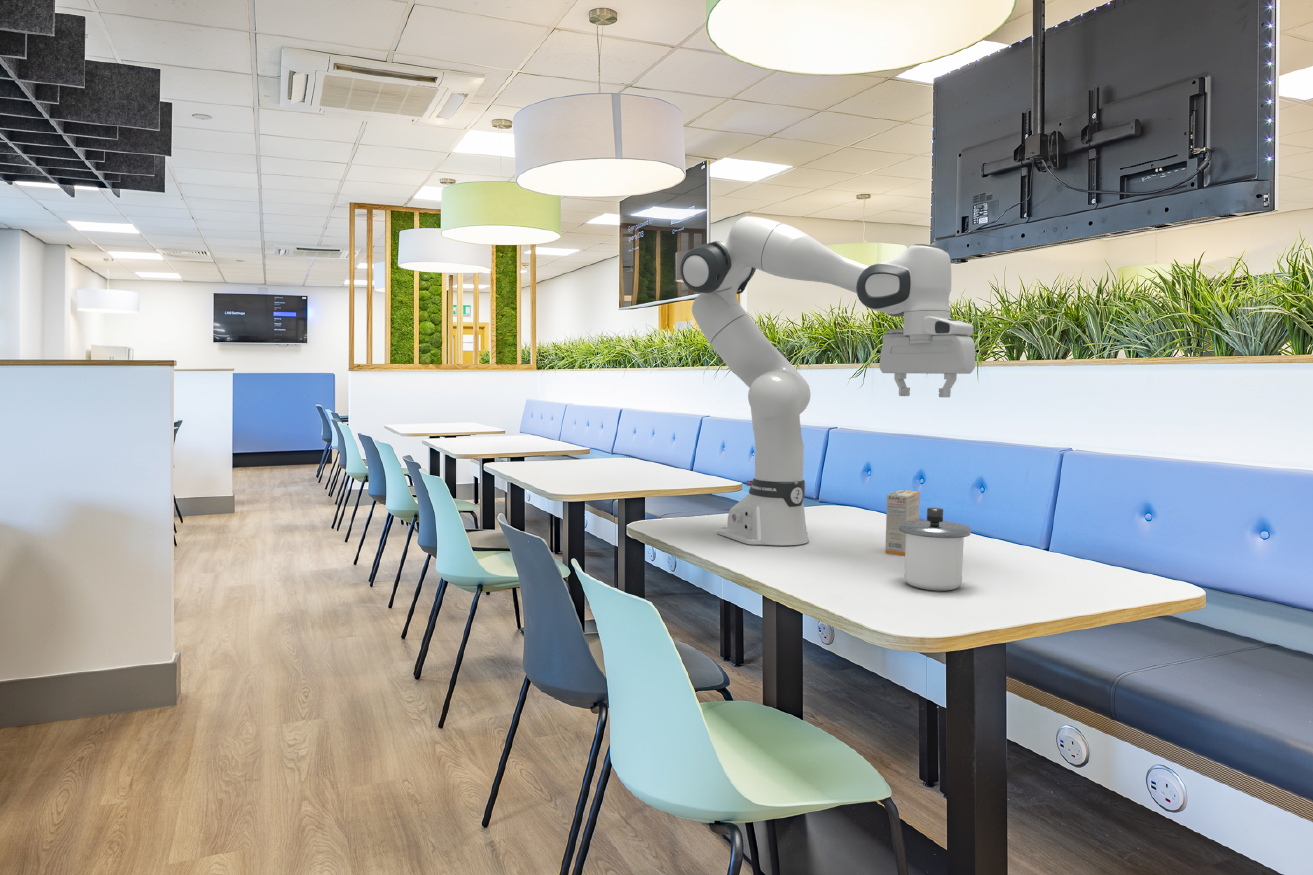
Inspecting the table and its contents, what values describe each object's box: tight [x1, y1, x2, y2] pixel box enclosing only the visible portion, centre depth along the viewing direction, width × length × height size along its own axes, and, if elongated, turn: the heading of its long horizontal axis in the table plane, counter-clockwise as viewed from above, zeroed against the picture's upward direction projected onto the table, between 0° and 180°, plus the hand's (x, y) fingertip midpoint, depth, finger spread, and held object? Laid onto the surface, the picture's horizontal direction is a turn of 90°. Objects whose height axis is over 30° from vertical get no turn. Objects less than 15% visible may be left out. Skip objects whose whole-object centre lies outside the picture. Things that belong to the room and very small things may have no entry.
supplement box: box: [885, 489, 921, 557], centre depth 183 cm, size 8×5×13 cm, turn 144°
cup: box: [904, 533, 965, 592], centre depth 153 cm, size 10×10×10 cm
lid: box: [899, 507, 972, 538], centre depth 153 cm, size 12×12×4 cm
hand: (923, 396), depth 168 cm, fingers open, 8 cm apart
